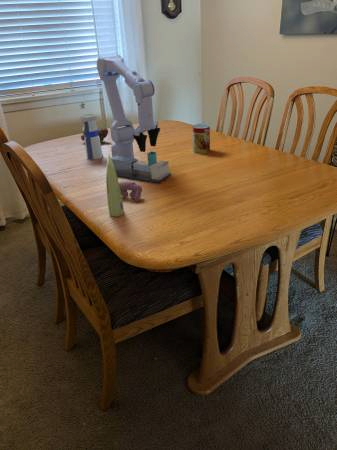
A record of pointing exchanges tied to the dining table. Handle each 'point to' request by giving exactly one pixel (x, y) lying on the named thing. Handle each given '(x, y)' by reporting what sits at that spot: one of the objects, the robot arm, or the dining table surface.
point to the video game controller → (133, 187)
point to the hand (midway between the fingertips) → (148, 148)
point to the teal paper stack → (145, 166)
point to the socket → (160, 170)
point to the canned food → (201, 138)
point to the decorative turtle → (101, 133)
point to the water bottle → (91, 135)
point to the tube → (113, 190)
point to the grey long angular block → (126, 171)
